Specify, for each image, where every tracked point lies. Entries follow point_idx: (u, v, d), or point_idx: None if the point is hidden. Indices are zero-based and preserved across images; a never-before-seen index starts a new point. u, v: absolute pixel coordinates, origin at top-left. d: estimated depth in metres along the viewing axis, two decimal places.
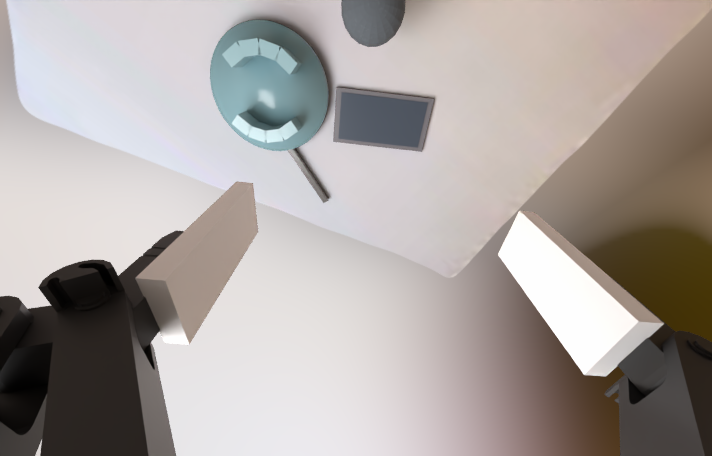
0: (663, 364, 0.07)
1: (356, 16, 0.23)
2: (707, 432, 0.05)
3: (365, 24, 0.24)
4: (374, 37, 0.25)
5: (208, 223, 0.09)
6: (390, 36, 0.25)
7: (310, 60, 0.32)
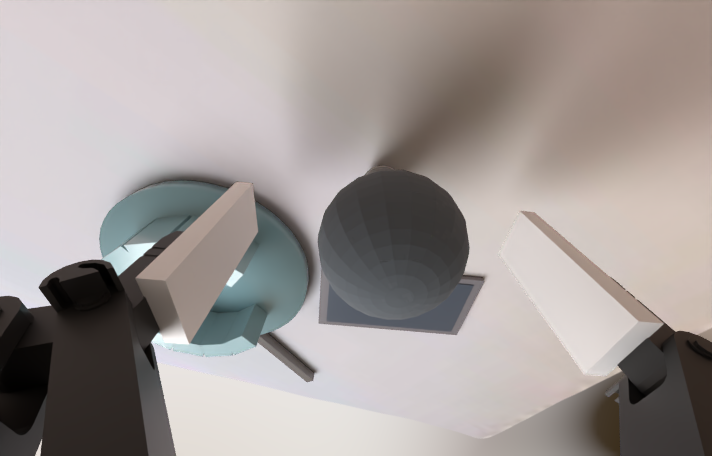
0: (663, 364, 0.07)
1: (352, 303, 0.09)
2: (707, 432, 0.05)
3: (375, 316, 0.10)
4: None
5: (208, 223, 0.09)
6: None
7: (272, 240, 0.18)
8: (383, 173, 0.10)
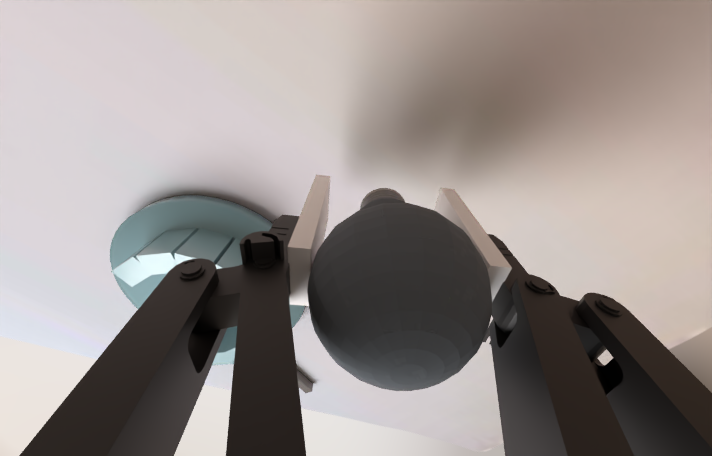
0: (514, 306, 0.09)
1: (349, 372, 0.08)
2: (547, 363, 0.06)
3: (377, 386, 0.08)
4: None
5: (315, 207, 0.11)
6: None
7: None
8: (386, 210, 0.08)
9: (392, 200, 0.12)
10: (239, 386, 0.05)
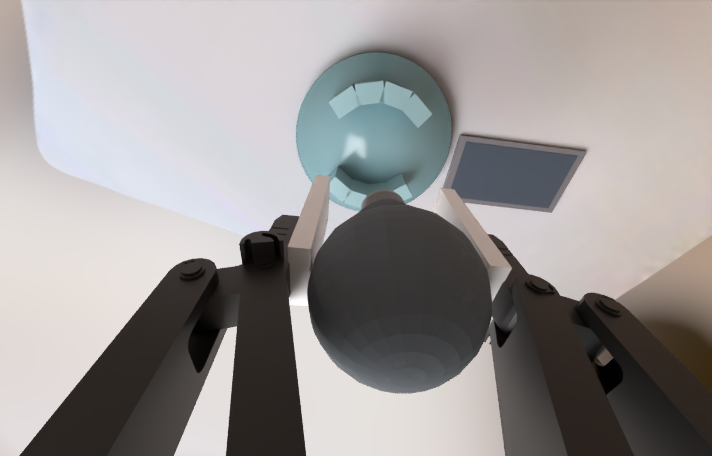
0: (514, 306, 0.09)
1: (349, 374, 0.08)
2: (547, 363, 0.06)
3: None
4: None
5: (315, 207, 0.11)
6: None
7: (436, 104, 0.24)
8: (386, 212, 0.08)
9: (392, 202, 0.11)
10: (239, 386, 0.05)
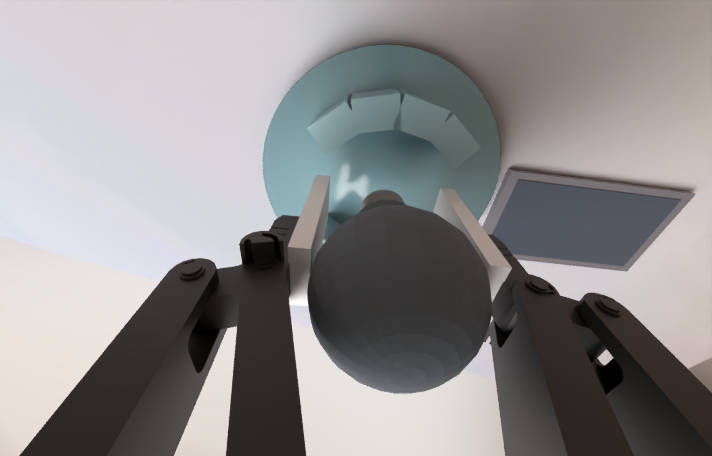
0: (514, 306, 0.09)
1: None
2: (547, 363, 0.06)
3: (377, 389, 0.08)
4: None
5: (315, 207, 0.11)
6: None
7: (479, 127, 0.15)
8: (386, 212, 0.08)
9: (392, 202, 0.12)
10: (239, 386, 0.05)
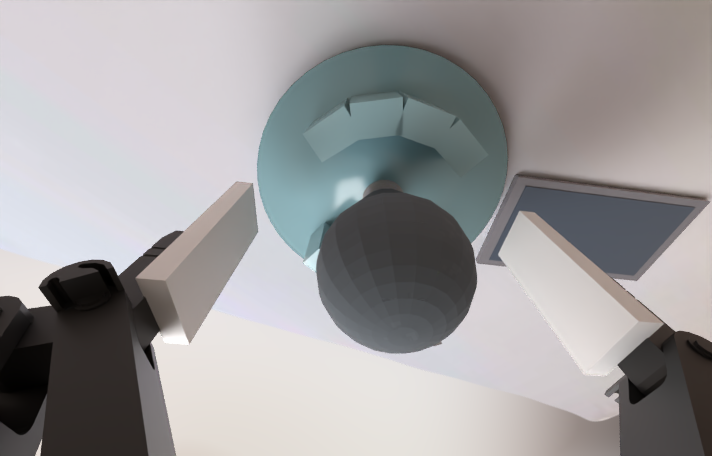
0: (663, 364, 0.07)
1: (352, 337, 0.09)
2: (707, 432, 0.05)
3: (377, 350, 0.09)
4: None
5: (208, 223, 0.09)
6: None
7: (485, 132, 0.14)
8: (386, 198, 0.09)
9: (391, 190, 0.13)
10: None
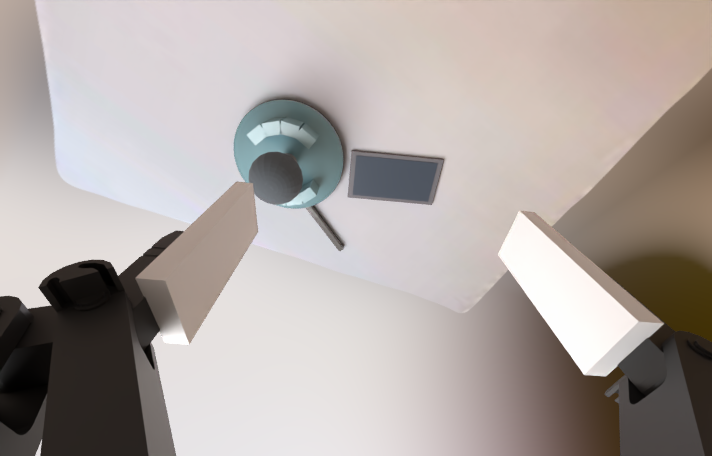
0: (663, 364, 0.07)
1: (258, 194, 0.29)
2: (707, 432, 0.05)
3: (266, 199, 0.29)
4: (277, 203, 0.30)
5: (208, 223, 0.09)
6: (292, 199, 0.31)
7: (326, 131, 0.35)
8: (268, 152, 0.29)
9: None
10: None
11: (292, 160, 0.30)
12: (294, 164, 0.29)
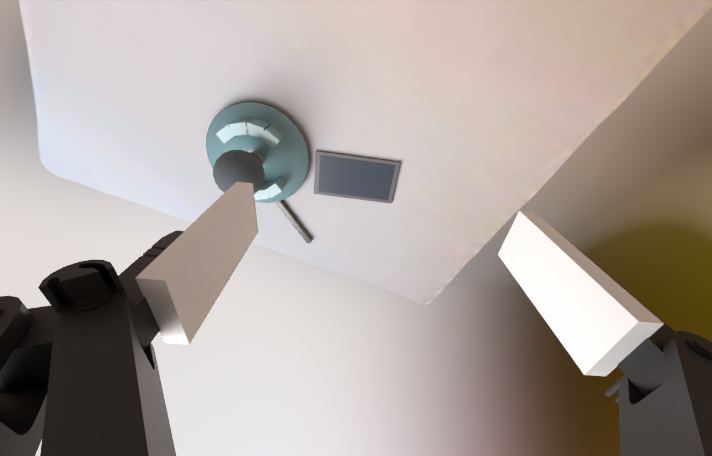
0: (663, 364, 0.07)
1: (220, 188, 0.32)
2: (707, 432, 0.05)
3: None
4: None
5: (208, 223, 0.09)
6: None
7: (291, 133, 0.38)
8: (231, 150, 0.32)
9: None
10: None
11: (253, 158, 0.33)
12: (255, 162, 0.33)
